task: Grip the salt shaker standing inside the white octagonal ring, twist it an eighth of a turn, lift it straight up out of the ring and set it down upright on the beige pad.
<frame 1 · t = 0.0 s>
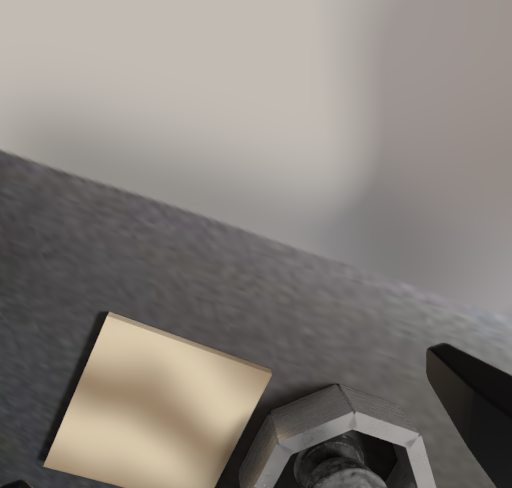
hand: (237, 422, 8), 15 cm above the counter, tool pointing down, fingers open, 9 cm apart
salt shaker: (327, 462, 28), resting in white octagonal ring
white octagonal ring: (328, 465, 28), on the counter
beige pad: (160, 413, 25), on the counter
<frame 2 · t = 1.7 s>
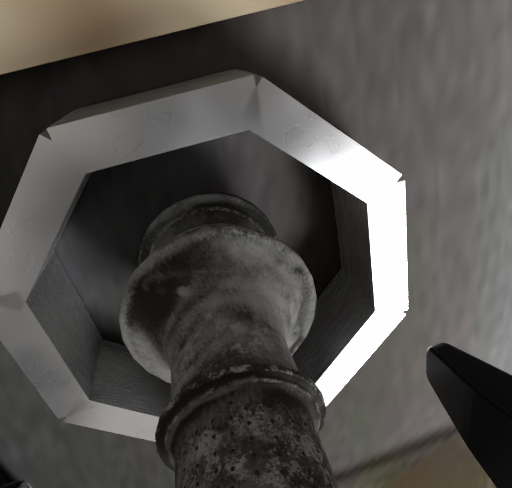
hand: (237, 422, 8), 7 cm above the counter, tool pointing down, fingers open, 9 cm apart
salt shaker: (210, 257, 15), resting in white octagonal ring
white octagonal ring: (211, 260, 14), on the counter
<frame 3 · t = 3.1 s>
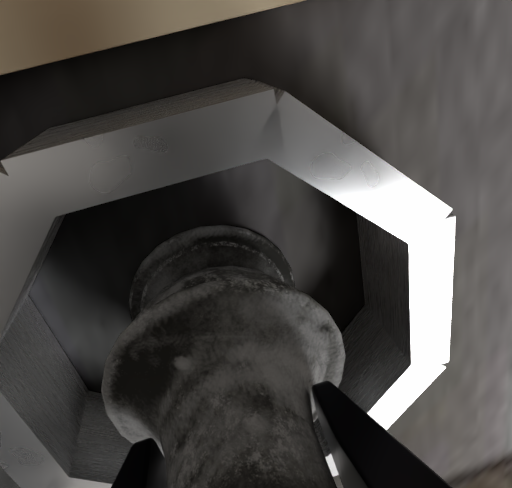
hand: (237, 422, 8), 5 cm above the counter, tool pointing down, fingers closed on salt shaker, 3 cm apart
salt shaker: (214, 296, 13), resting in white octagonal ring, touching gripper
white octagonal ring: (215, 300, 12), on the counter
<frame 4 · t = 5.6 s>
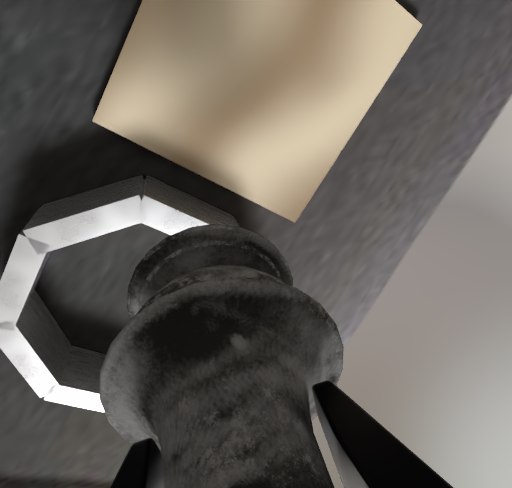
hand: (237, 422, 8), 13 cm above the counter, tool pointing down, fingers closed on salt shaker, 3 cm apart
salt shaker: (212, 295, 12), point 8 cm above the counter, touching gripper
white octagonal ring: (142, 290, 21), on the counter
beige pad: (259, 70, 18), on the counter
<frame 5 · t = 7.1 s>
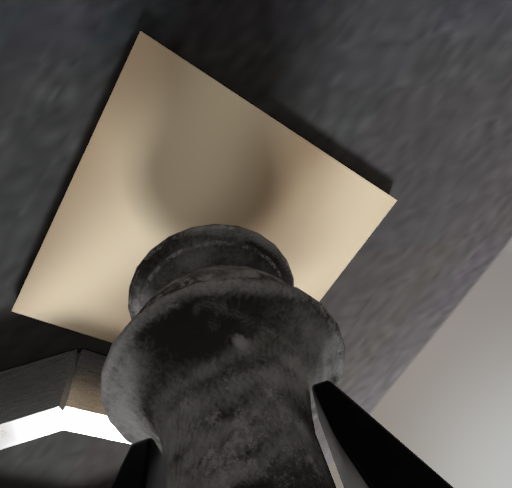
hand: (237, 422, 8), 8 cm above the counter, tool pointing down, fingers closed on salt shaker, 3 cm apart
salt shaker: (213, 295, 12), point 3 cm above the counter, touching gripper
white octagonal ring: (82, 451, 19), on the counter
beige pad: (209, 246, 15), on the counter
when the fingers open (7 cm above the counter, at t = 8.2 s): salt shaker drops 1 cm, resting on beige pad.
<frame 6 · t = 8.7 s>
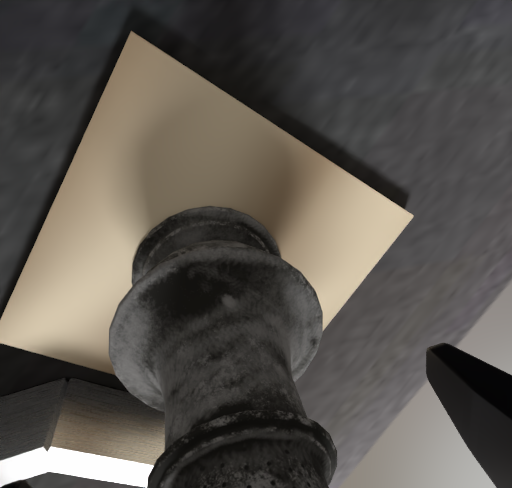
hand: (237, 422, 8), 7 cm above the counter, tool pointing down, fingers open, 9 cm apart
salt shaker: (208, 272, 14), resting on beige pad
white octagonal ring: (72, 483, 18), on the counter
beige pad: (209, 267, 14), on the counter
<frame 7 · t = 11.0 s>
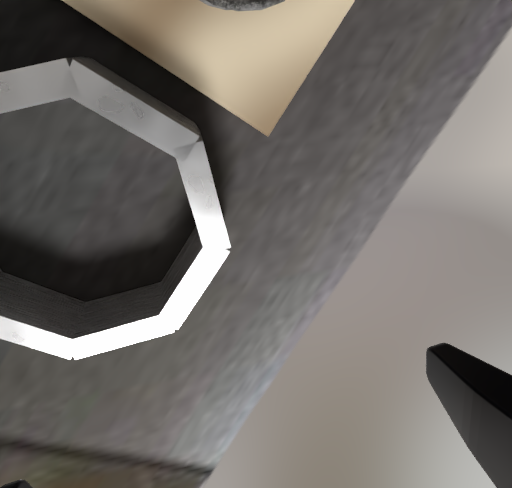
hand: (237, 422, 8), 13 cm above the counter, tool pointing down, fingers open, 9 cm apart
white octagonal ring: (86, 208, 18), on the counter
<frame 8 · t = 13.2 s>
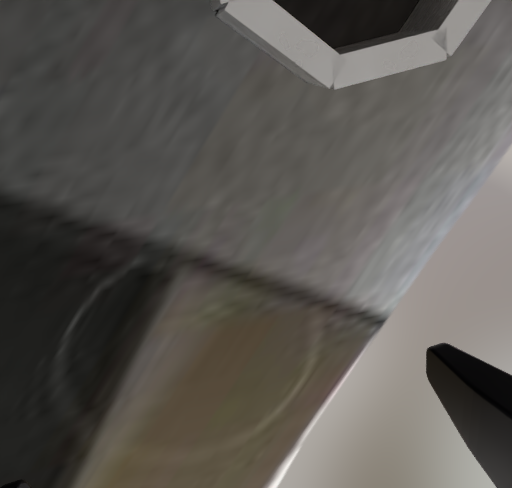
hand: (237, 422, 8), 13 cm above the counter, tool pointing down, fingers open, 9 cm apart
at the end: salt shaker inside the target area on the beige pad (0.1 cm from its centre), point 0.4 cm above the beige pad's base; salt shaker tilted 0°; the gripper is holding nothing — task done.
